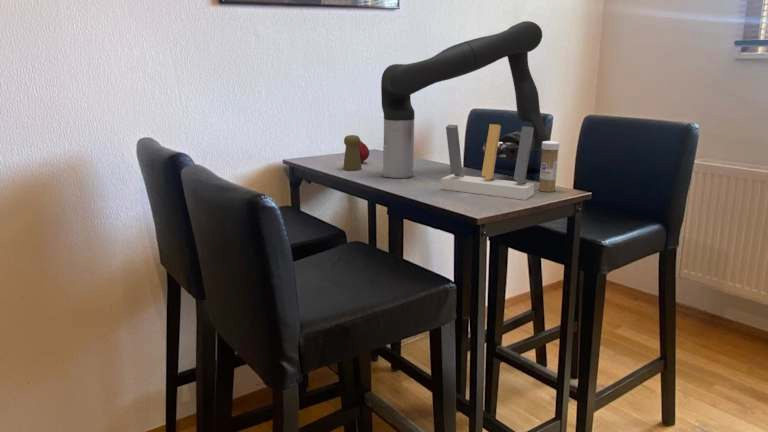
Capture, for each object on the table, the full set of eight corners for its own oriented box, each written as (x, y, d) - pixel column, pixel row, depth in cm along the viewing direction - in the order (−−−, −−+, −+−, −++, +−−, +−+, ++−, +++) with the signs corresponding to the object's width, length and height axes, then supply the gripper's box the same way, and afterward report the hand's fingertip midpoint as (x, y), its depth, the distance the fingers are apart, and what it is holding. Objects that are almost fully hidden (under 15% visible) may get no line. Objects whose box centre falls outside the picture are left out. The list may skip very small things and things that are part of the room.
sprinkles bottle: (535, 190, 164) (539, 141, 161) (543, 187, 167) (546, 140, 164) (551, 193, 161) (555, 143, 158) (558, 190, 165) (562, 141, 161)
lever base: (440, 189, 166) (441, 177, 165) (451, 184, 171) (452, 173, 170) (524, 199, 153) (525, 187, 153) (533, 194, 159) (534, 182, 158)
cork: (359, 171, 190) (358, 136, 187) (340, 170, 191) (340, 136, 189) (363, 167, 196) (363, 134, 193) (345, 167, 197) (345, 133, 194)
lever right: (512, 182, 157) (522, 126, 157) (515, 183, 158) (524, 127, 158) (522, 183, 155) (531, 126, 155) (524, 184, 157) (533, 128, 157)
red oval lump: (372, 162, 205) (372, 139, 203) (363, 165, 200) (362, 141, 198) (358, 161, 208) (358, 138, 206) (348, 163, 203) (348, 140, 201)
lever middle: (480, 178, 161) (489, 124, 161) (483, 179, 163) (492, 125, 163) (489, 180, 160) (498, 124, 160) (492, 180, 161) (501, 126, 161)
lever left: (451, 177, 166) (445, 127, 159) (454, 173, 168) (448, 124, 160) (459, 178, 165) (454, 128, 157) (462, 174, 166) (457, 125, 159)
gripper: (493, 131, 179) (470, 138, 164) (536, 134, 172) (516, 141, 158) (491, 156, 181) (468, 164, 166) (534, 160, 174) (514, 169, 160)
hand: (492, 153), depth 162 cm, fingers closed
